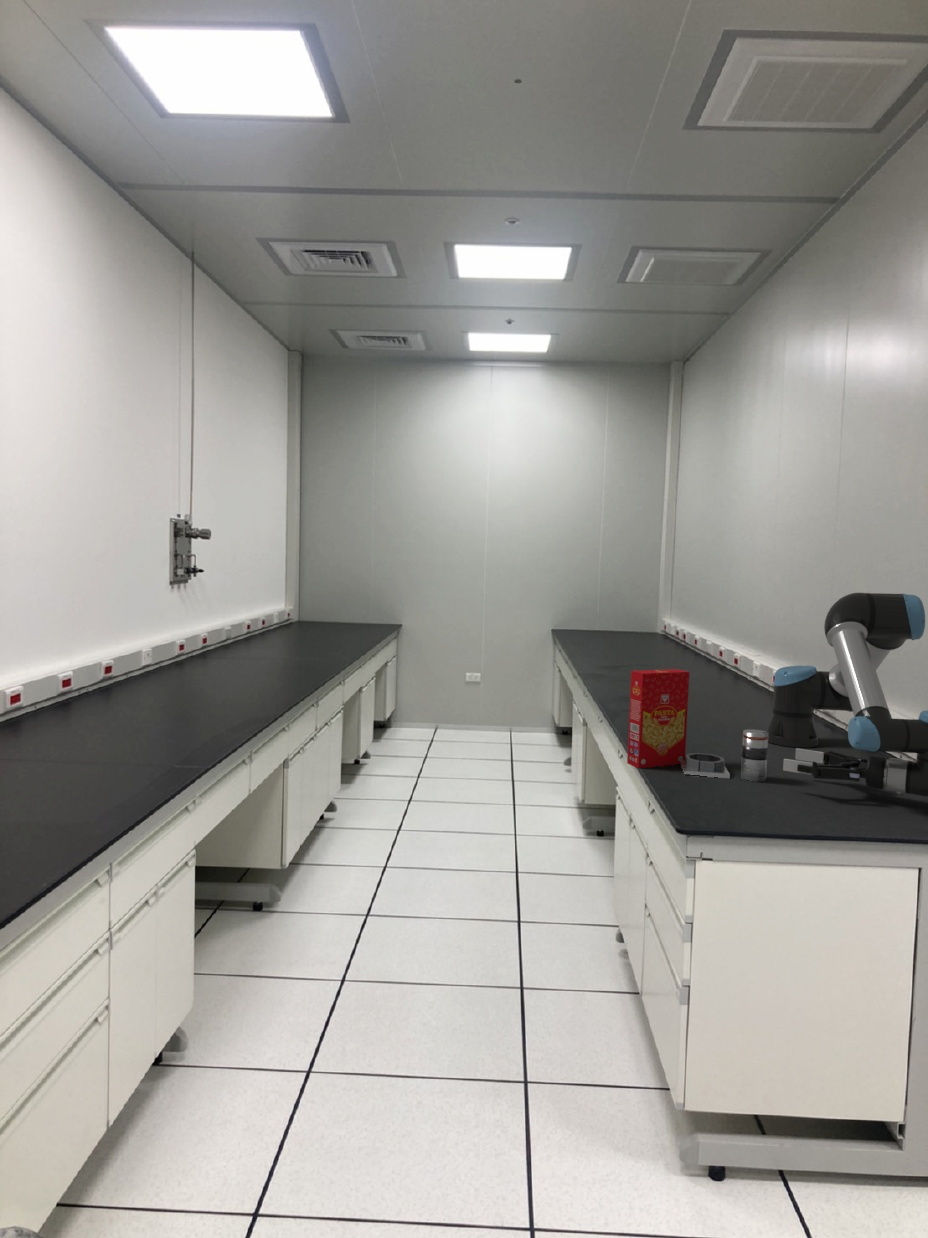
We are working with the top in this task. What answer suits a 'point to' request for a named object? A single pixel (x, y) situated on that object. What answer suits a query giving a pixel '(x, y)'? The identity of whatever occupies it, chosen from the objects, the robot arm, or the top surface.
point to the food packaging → (657, 717)
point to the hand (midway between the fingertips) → (789, 758)
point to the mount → (704, 765)
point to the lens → (754, 755)
